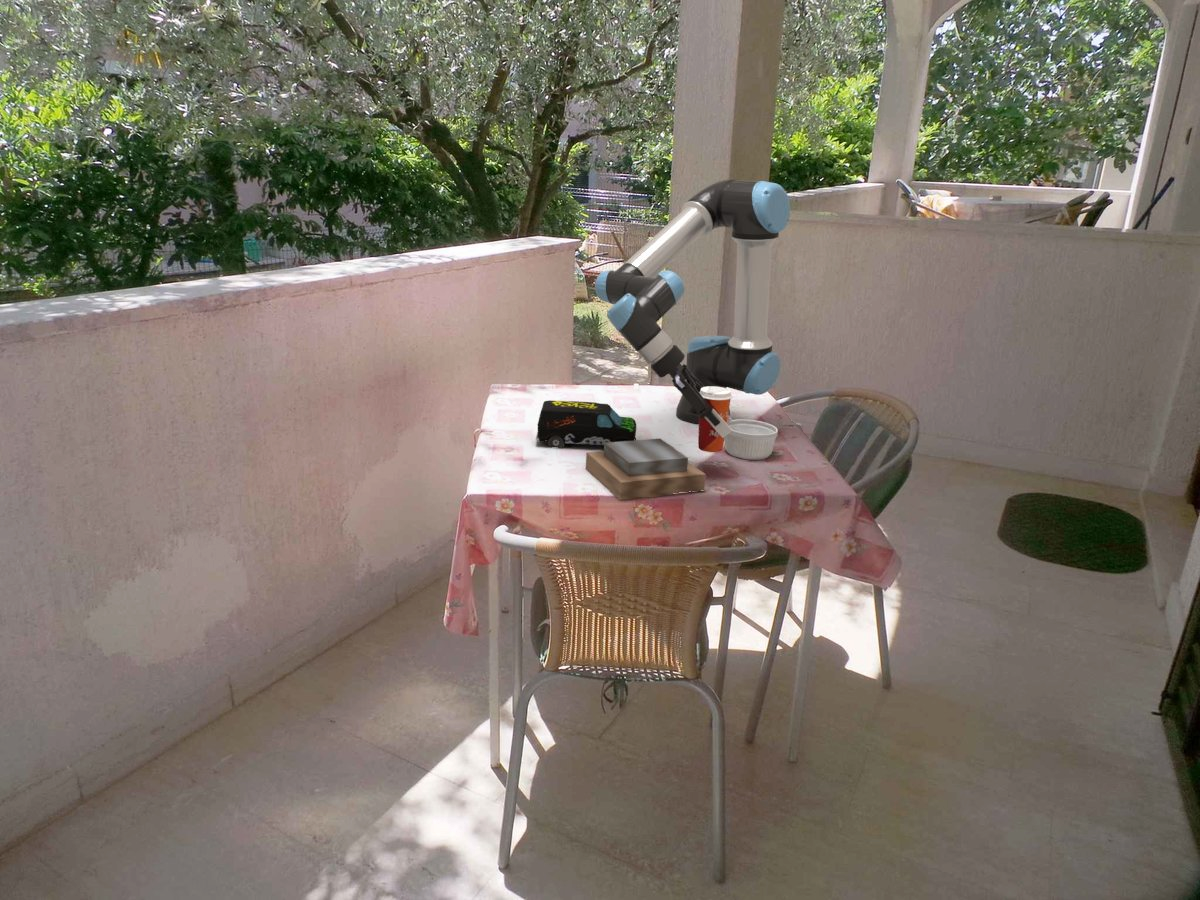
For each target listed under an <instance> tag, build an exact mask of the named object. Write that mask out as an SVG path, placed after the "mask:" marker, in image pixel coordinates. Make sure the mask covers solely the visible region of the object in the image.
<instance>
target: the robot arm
mask: <svg viewBox="0 0 1200 900" xmlns="http://www.w3.org/2000/svg"><path fill="white" fill-rule="evenodd" d="M790 214H791V204H790V199H789V196H788V193H787V192H786V190H785V188H784V187H783V186H782V185H781V184H778V183H775V182H769V181H767V180H766V181H765V180H739V179H723V180H721V181H717V182H715V183H712V184H710V185H709V186H707V187H705V188H703V189H702V190H700V191H698V192H697V193H695V195H693V196H691V198H689V199H688V200H687V201H686V202H685V203H684V204H683V205H682V206H681V209H680V213H678V214H677V215H676V216H675V217H674V218H673V219H671V221H669V223H667V224H666V225H665V226H664V227H663V228H662V229H661V230H660V231H658V232H657V233H656V234H655V235H653V237H652V238H650V240H648V241H647V242H646V243H645V244H644V245H643V246H642V247H641V248H640V249H639V250H638V251H637V252H635V253H634V254H633V255H632V256H631V257H630V258H629V259H628V260H627V261H625V262H624V263H623V264H622V265H621V266H620V267H618V268H617V269H616V270H612V269H611V270H605V271H602V272H601V273H600V274H598V276H597V277H596V280H595V283H594V291H595V294H596V296H597V298H598V299H599V300H601V302H602V301H603V302H605V303H609V304H612V306H611V307H610V308H609V309H608V310H607V311H606V317H607V319H608V320H609V322H610V323H611V325H613V327H614V329H615V330H616V331H617V332H619V333H620V335H622V337H623V338H624V340H626V342H628V344H629V345H630V346H631V347H632V348H633V349H634V350H635V351H636V352H637V354H638V355H637V356H638V358H639V359H642V358H643V361H645V363H647V364H649V365H650V368H651V369H652V370H653V371H654V372H655V374H656V375H657V376H658V377H659V378H664V377H666V376H667V375H669V376H670V377H671V378H672V379H671V381H672V384H673V386H674V388H676V389H677V390H678V391H679V392H680V393H681V396H680V399H679V402H678V403H677V407H676V414H675V415H676V418H678V419H680V420H681V421H684V422H688V423H691V424H692V423H694V424H698V425H699V415H700V419H703V418H705V419H706V420H707V421H708V422H709V423H710V424H711V425H712V427H713V428H714V429H715V430H716V431H717V432H718V433H719V434H720V436H721V437H722V438H724V437H725V436H726V435H728V434H729V433H730V432H731V431H732V429H731V428H730V427H729V426H728V425H727V424H728V423H729V422H730V421H732V420H733V419H732V418H731V408H729V412H728V419H727V423H726V422H725V421H724V420H723V419H722V418H721V417H720V416H719V414H718V413H717V412H716V411H715V410H714V409H712V408H711V407H710V406H709V404H708V403H707V402H706V401H705V399H704V398H703V397H702V395H701V394H700V393H699V392H700V390H701V388H703V387H707V386H716V387H723V388H727V389H731V390H735V391H740V392H744V393H745V394H752V395H759V396H760V395H763V394H766V393H767V392H768V391H769V390H770V389H772V388H773V386H774V385H775V383H776V382H777V379H778V377H779V374H780V372H781V366H782V365H781V364H782V363H781V358H780V357H779V355H778V354H777V353H775V352H773V342H772V340H771V339H770V338H769V337H768V325H769V324H768V323H769V321H768V320H769V307H770V305H769V304H770V288H771V287H770V286H771V269H772V268H771V267H772V265H771V264H772V249H773V244H774V243H775V242H776V241H777V240H778V239H779V236H780V234H779V233H781V232H782V231H783V230H785V228H786V227H787V225H788V221H789V219H790ZM717 228H731V239H732V240H733V241H734V242H735V243H736V244H737V248H736V251H737V252H736V274H735V277H736V278H735V298H734V300H735V303H734V325H733V336H732V337H731V336H726V335H701V336H695V337H692V338H691V339H690V340H689V342H688V346H687V347H688V348H687V351H686V356H685V354H684V352H683V351H682V350H681V349H680V348H679V347H678V346H677V345H675V344H673V342H674V341H673V340H672V338H671V337H670V336H669V335H668V334H667V333H666V332H665V331H664V330H663V328H661V327H660V324H658V323H657V322H659V321H660V320H661V318H663V317H664V316H665V315H666V314H667V313H668V312H669V311H670V310H671V308H673V307H674V306H676V305H677V304H678V303H677V302H679V300H680V299H681V298H682V297H683V296H684V294H685V284H684V282H683V280H682V278H681V277H680V276H679V275H678V274H677V273H676V272H674V271H672V270H668V269H666V268H668V266H669V265H670V264H672V263H673V262H674V261H675V260H676V258H678V257H679V256H680V255H681V254H682V253H683V252H684V251H685V250H686V249H688V247H689V246H691V244H693V243H694V242H695V241H696V240H697V239H698V238H699V237H700V236H706V235H708V234H709V233H710V232H712V230H714V229H717ZM665 269H666V270H665ZM685 357H686V364H681V363H682V362H683V361H684V360H685ZM703 408H704V409H703ZM702 409H703V410H702ZM724 439H725V438H724Z"/></svg>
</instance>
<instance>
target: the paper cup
mask: <svg viewBox="0 0 1200 900" xmlns="http://www.w3.org/2000/svg"><path fill="white" fill-rule="evenodd" d="M699 393H700V394H701V395H702V397H703V398H704V399H705V401H706V402H707V403H708V404H709V406H710V407H711V408H712V409H714V410H715V411H716V412H717V413H718V414H719V416H720V417H721V418H722V419H723V420H724V421H725V422H726V423H727V419H728V412H729V409H730V405H731V399H732V398H733V395H732V392H731V390H730V388H728V387H726V388H723V387H716V386H707V387H703V388H701V390H700V392H699ZM703 409H704V408H703ZM703 409H702V410H703ZM697 439H698V443H697V445H698V449H699V451H703V452H707V453H720V452H721V451H723V450H724V449H723V448H724V445H725V437H724V438H722V437H721V436H720V434H719V433H718V432H717V431H716V430H715V429H714V428H713V427H712V425H711V424H710V423H709V422H708V421H707V420H706V419H705V418H703V419H700V415H699V424H698V438H697Z"/></svg>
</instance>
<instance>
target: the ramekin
mask: <svg viewBox="0 0 1200 900" xmlns="http://www.w3.org/2000/svg"><path fill="white" fill-rule="evenodd" d="M727 425H728V426H729V427H730V428H731V429H732V431H731V432H730V433H729V434H728V435H726V436H725V438H724V449H725V451H726V452H727V454H728V455H730V456H732V457H735V458H738V459H743V460H750V461H751V460H752V461H757V460H764V459H765V460H766V459H767V458H768V457H770V455H771V454H772V452H773V450H774V446H775V442H776V438H777V437H778V433H779V430H778V428H777V426H774V425H773V424H771V423H768V422H764V421H760V420H755V419H745V418H743V419H741V418H740V419H732V421H730V422H729V423H728V424H727Z"/></svg>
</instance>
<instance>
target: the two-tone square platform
mask: <svg viewBox="0 0 1200 900" xmlns="http://www.w3.org/2000/svg"><path fill="white" fill-rule="evenodd" d="M585 469H586V471H588V472H589V473H590V475H592V476H593V477H594V478H595V479H596V480H597V481H598V482H599V483H601V484H602V485H603V486H604V487H605V488H606V489H607V490H608V489H609V490H610V491H609V490H608V491H609V492H610V493H612V495H614V496H615V497H616V498H617V499H618V500H619V501H625V500H635V499H643V498H644V499H645V498H657V497H662V495H666V496H670V495H669V494H673V493H679V492H689V491H691V492H692V491H701V490H704V491H705V486H706V478H707V477H706V476H707V475H706V473H704V472H703V471H702V470H700V469H699V468H698V467H696V466H695V465H693V464H692V463H690V462H689V457H688V456H686V455H685V454H683V453H682V452H681V451H679V450H678V449H676V448H674V447H673V446H672V445H671V444H669V443H667V441H665V440H663V439H662V438H650V439H648V438H647V439H636V440H635V439H634V441H621V442H608V443H604V445H603V450H599V451H598V450H597V451H586V453H585Z"/></svg>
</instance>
